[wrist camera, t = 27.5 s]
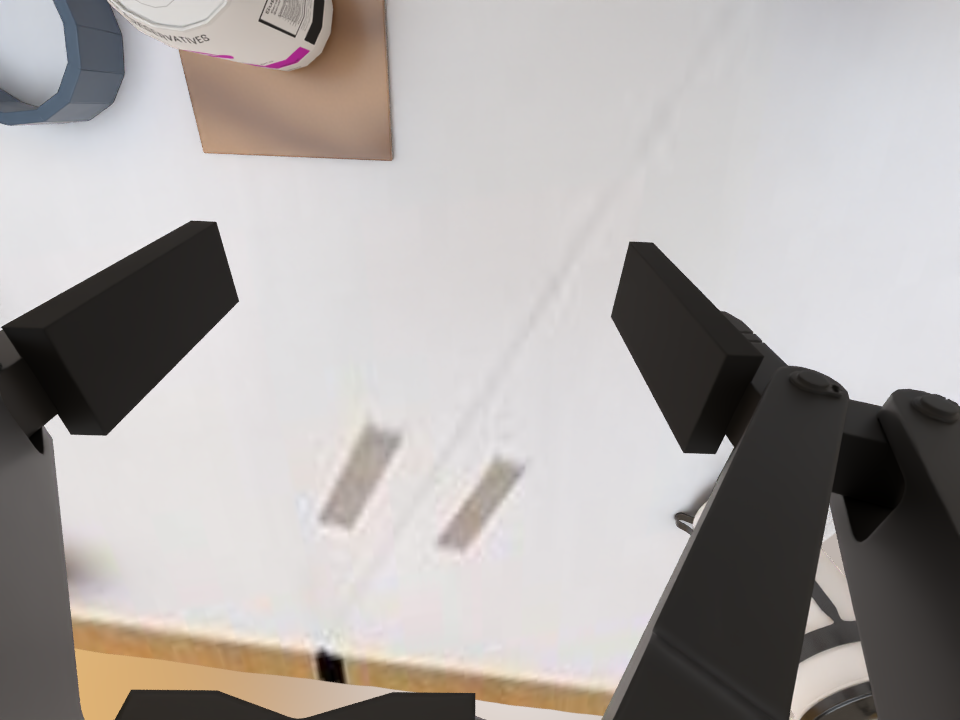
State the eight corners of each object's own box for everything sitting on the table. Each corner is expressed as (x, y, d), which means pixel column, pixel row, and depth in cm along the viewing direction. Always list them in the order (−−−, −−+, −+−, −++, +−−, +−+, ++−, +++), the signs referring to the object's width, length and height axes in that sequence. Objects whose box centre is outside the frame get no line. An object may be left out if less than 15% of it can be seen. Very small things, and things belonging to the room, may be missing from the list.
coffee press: (780, 530, 64) (1003, 815, 38) (671, 548, 65) (817, 840, 39) (801, 441, 56) (1107, 731, 30) (676, 463, 56) (867, 765, 30)
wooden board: (119, -219, 26) (110, -228, 25) (375, -194, 27) (373, -202, 26) (208, 152, 36) (203, 153, 35) (392, 159, 37) (391, 160, 36)
